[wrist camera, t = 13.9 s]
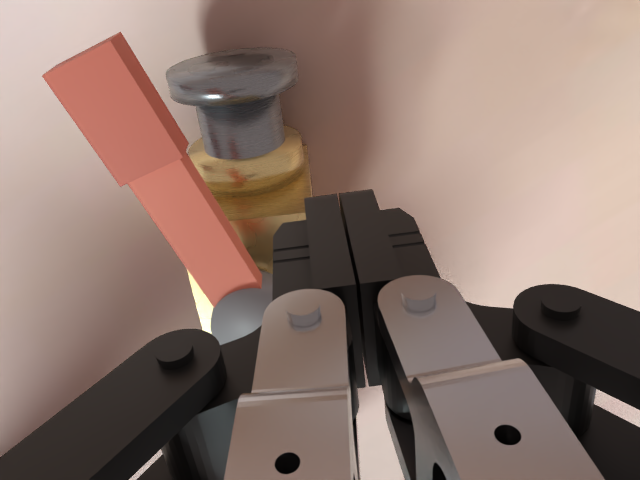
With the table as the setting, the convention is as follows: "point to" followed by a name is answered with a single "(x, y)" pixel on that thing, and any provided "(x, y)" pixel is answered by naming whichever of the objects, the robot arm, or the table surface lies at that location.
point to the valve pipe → (245, 146)
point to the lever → (162, 178)
